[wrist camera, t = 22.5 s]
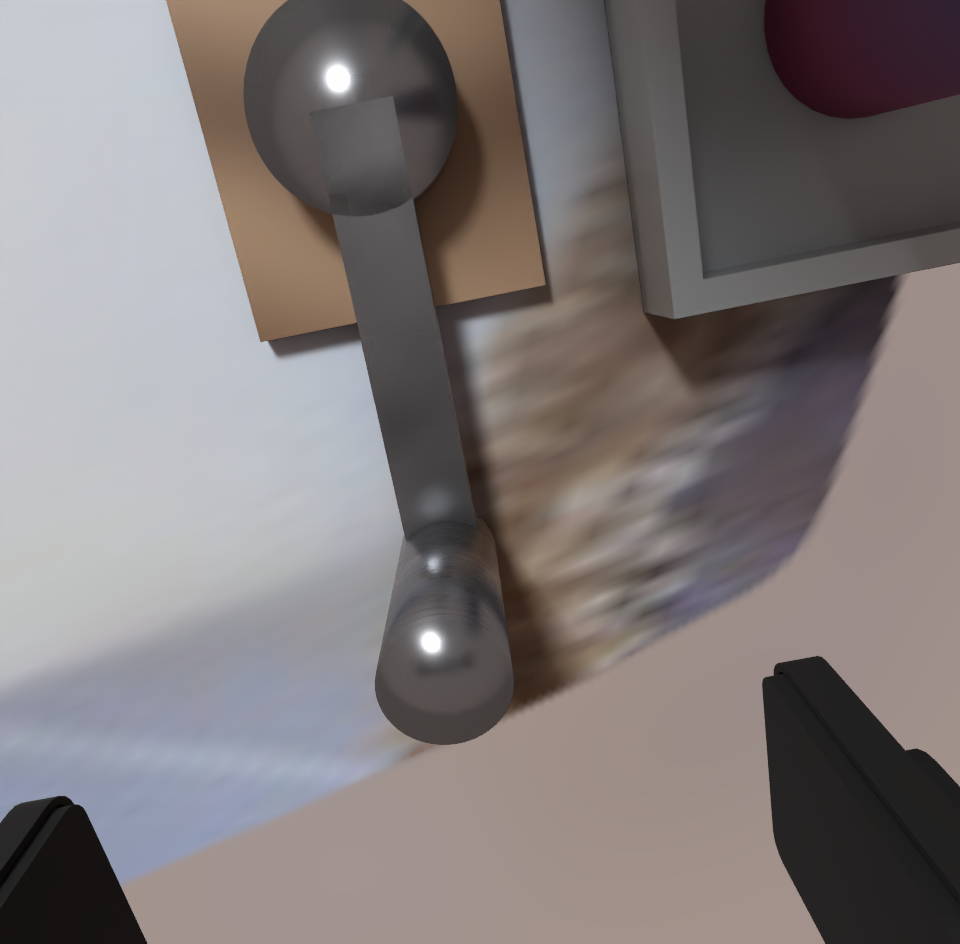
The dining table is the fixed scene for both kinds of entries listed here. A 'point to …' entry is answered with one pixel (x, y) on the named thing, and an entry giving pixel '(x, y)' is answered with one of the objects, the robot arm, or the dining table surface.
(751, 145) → the tray
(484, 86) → the crank base
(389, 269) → the crank
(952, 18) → the cup
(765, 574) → the dining table surface
